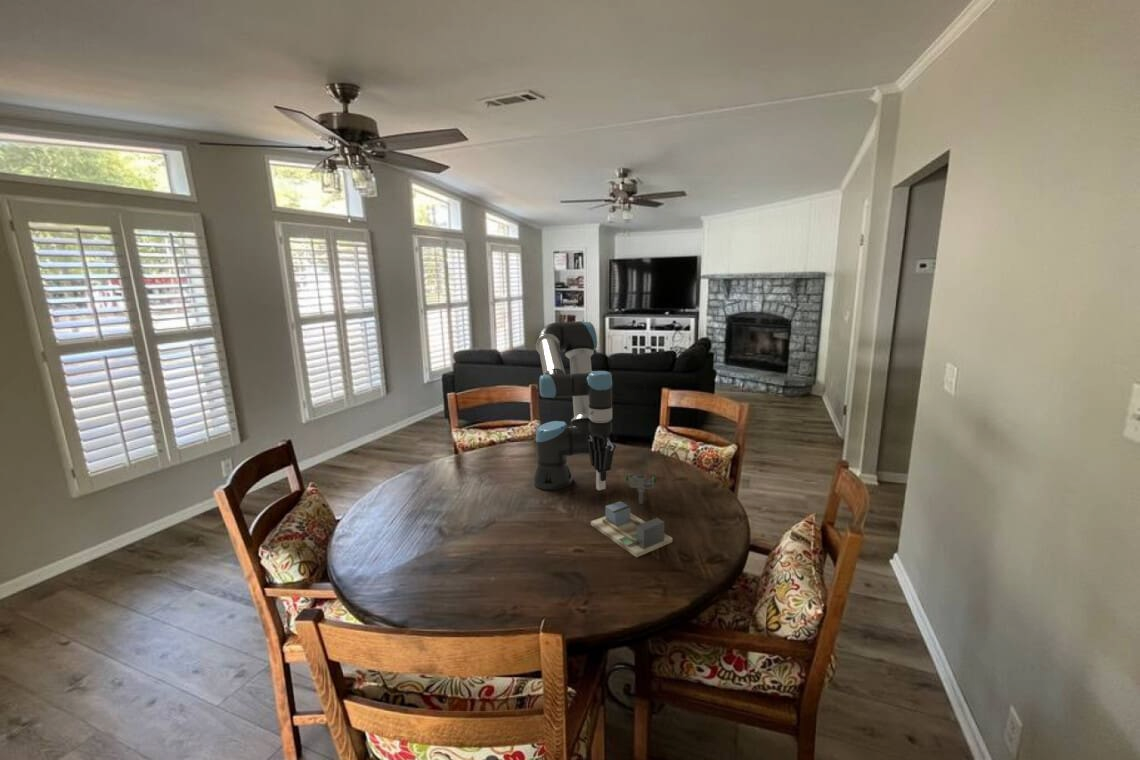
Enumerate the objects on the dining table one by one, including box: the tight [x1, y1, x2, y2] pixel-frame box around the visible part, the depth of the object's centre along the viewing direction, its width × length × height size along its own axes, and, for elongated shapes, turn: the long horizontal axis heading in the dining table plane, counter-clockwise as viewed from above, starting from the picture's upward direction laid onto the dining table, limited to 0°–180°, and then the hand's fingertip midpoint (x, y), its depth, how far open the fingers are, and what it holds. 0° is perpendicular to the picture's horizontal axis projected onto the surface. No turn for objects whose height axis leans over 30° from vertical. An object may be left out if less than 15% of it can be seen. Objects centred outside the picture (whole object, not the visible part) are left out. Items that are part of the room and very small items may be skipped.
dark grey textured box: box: [636, 517, 665, 549], centre depth 136 cm, size 3×8×6 cm, turn 123°
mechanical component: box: [625, 473, 657, 505], centre depth 163 cm, size 3×10×10 cm, turn 78°
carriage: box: [604, 501, 632, 526], centre depth 149 cm, size 5×7×5 cm
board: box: [590, 512, 673, 558], centre depth 144 cm, size 22×14×2 cm, turn 33°
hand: (600, 488), depth 154 cm, fingers closed
